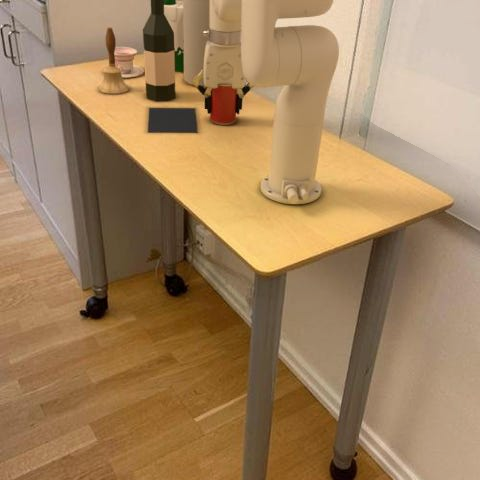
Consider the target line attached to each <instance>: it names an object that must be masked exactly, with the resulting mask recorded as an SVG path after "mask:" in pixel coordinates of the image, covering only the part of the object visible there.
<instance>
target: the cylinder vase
mask: <svg viewBox="0 0 480 480" xmlns="http://www.w3.org/2000/svg"><path fill="white" fill-rule="evenodd" d="M182 2H183V38H184V72H183V80H184V81H185V82H186V83H187V85H189V86H192V87H195V85H194V84H193V83H192V78H193V77H194V76H195V75H196V74H198V73H199V72H200V71H201V70H202V69H203V67H204V55H205V47H206V43H207V41H209V39H208V38H206V37H203V31H206V30H208V29H209V22H210V0H182ZM199 82H200V84H202V85H203V87H204V88H205V87H206V86H205V85H204V79H203V78H201V79H200V80H199Z"/></svg>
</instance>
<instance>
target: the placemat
mask: <svg viewBox="0 0 480 480" xmlns="http://www.w3.org/2000/svg"><path fill="white" fill-rule="evenodd" d="M147 133H176V134H177V133H178V134H179V133H181V134H182V133H183V134H184V133H187V134H188V133H191V134H194V133H196V134H197V133H199V132H198V124H197V115H196V108H195V107H191V108H190V107H148V121H147Z"/></svg>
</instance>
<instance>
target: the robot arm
mask: <svg viewBox="0 0 480 480" xmlns="http://www.w3.org/2000/svg"><path fill="white" fill-rule="evenodd" d="M333 4H334V0H210V22H209V29H208V30H206V31H203V37H206V38H208V39H209V41H207V43H206V47H205V55H204V67H203V69H202V70H201V71H200V72H199V73H198V74H196V75H195V76H194V77H193V78H192V83H193V84H194V85H195V86H194V87H195V88H196V89H197V90H198V91H199V92H200V94H202V96H203V97H204V110H206V113H207V114H208V115H210V113H211V97H210V92H211V90H212V88H218V85H217V84H232V88H233V89H236V90H237V105H236V115H240V110H241V111H242V110H243V98H245V96H246V95H247V94H248V93H249V92H250V91H251V89H252V88H253V87H256V88H273V87H282V86H283V87H282V89H281V91H280V92H279V94H278V96H277V99H276V102H275V106H274V114H273V125H272V137H271V147H270V148H271V149H270V160H269V169H268V170H269V171H268V172H269V173H268V175H266V176H265V177H263V179H262V180H261V182H260V191H261V193H262V194H263V196H265V197H266V198H268V199H270V200H272V201H275V202H277V203H279V204H285V205H286V204H287V205H305V204H310V203H312V202H314V201H316V200H318V199H319V198H320V196H321V194H322V189H323V188H322V184H320V182H319V181H318V180H317V179H316V177H317V171H318V170H317V169H318V164H319V156H320V148H321V141H322V135H323V127H324V121H325V115H326V107H327V103H328V102H327V101H328V96H329V91H330V88H331V84H332V81H333V78H334V75H335V72H336V69H337V65H338V62H339V57H340V45H339V42H338V39H337V37H336V35H335V34H334V32H333V31H332V30H330V29H328V28H327V27H324V26H322V25H315V24H307V25H306V24H305V25H288V26H276V24H277V21H278V20H280V19H282V20H283V19H301V18H303V19H304V18H314V17H318V16H319V17H320V16H322V15H325V14H326V13H328V12H329V11H330V10H331V8H332V7H333V6H332V5H333ZM201 78H203V79H204V85H205V86H206V87H205V88H204V87H203V85H202V84H200V82H199V80H200V79H201ZM246 82H247V83H246Z"/></svg>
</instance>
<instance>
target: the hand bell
mask: <svg viewBox="0 0 480 480" xmlns="http://www.w3.org/2000/svg"><path fill="white" fill-rule="evenodd" d="M116 42H117V41H116V35H115V33H114V31H113V27H107V28H106V33H105V46H106V50H107V53H108V66H109V67H108V66H106V67H107V68H106V67H105V68H106V69H105V68H104V69H105V70H104V69H103V80H102V83H101V84H100V85H99V87H98V91H99V92H101V93H103V94H108V95H120V94H121V95H122V94H125V93H127V92H129V91H130V88H129V86H128V85H127V84H126V83H125V80H124V78H122V75H121V70H120V69H119V68H117V67H116V66H115V56H114V52H115V47H117V45H116V44H117V43H116Z"/></svg>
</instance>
